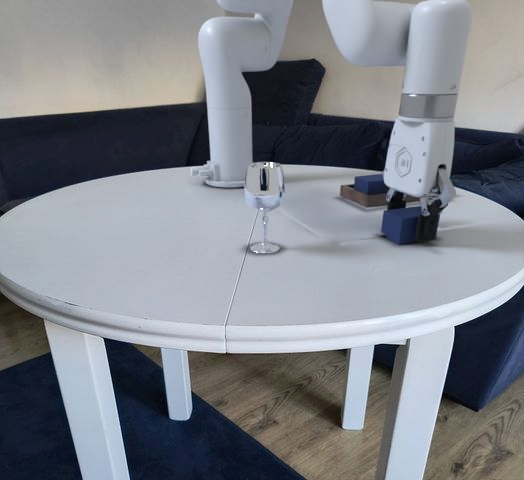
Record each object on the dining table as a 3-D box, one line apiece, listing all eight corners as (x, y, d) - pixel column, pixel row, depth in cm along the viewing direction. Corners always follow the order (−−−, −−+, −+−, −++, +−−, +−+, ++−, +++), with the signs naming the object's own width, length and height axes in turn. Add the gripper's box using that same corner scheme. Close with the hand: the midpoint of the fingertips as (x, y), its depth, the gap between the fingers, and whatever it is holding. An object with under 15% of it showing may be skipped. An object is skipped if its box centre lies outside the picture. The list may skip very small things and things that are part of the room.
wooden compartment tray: (449, 199, 97) (452, 186, 95) (366, 210, 91) (367, 196, 89) (418, 189, 105) (420, 176, 103) (339, 198, 99) (340, 185, 97)
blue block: (366, 203, 93) (368, 181, 91) (352, 197, 97) (354, 176, 95) (397, 199, 95) (399, 178, 93) (382, 193, 99) (385, 173, 97)
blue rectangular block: (398, 244, 74) (402, 218, 72) (380, 235, 78) (383, 210, 76) (436, 238, 76) (440, 213, 74) (416, 229, 80) (420, 205, 78)
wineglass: (245, 242, 75) (243, 161, 69) (281, 241, 76) (282, 160, 70) (246, 255, 71) (244, 169, 64) (286, 254, 71) (287, 168, 65)
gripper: (370, 104, 73) (359, 221, 83) (447, 115, 59) (423, 253, 69) (411, 102, 76) (396, 216, 85) (494, 112, 62) (465, 246, 71)
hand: (408, 232), depth 77 cm, fingers open, 7 cm apart
